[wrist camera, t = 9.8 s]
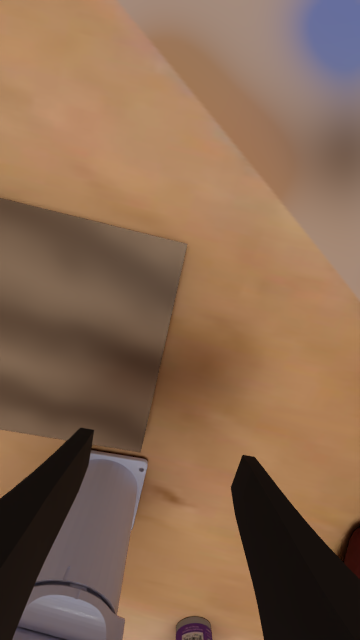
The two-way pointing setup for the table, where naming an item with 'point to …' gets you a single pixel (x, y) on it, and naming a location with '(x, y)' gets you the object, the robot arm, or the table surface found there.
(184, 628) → the container
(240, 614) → the table surface
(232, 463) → the table surface
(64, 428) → the grey brown board
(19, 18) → the table surface
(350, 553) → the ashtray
